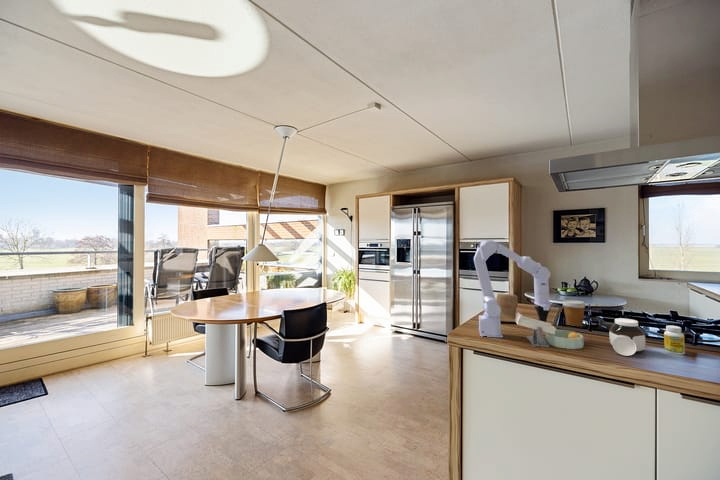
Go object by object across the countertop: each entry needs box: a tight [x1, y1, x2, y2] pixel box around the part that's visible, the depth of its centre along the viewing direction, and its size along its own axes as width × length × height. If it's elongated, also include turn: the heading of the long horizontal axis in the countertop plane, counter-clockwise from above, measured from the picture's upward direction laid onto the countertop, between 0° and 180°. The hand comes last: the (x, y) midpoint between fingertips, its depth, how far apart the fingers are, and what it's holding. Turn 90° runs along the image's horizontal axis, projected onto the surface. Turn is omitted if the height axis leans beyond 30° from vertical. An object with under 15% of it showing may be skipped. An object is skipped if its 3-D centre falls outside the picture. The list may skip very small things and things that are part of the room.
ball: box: [568, 331, 579, 338], centre depth 127 cm, size 4×4×4 cm
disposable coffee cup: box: [561, 299, 586, 327], centre depth 152 cm, size 10×10×12 cm
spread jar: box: [608, 317, 646, 357], centre depth 117 cm, size 12×11×12 cm
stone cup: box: [495, 293, 519, 323], centre depth 165 cm, size 15×12×15 cm
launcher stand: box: [526, 327, 551, 348], centre depth 131 cm, size 6×12×8 cm, turn 163°
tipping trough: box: [514, 311, 557, 334], centre depth 135 cm, size 14×15×4 cm
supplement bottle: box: [663, 324, 686, 356], centre depth 115 cm, size 5×5×10 cm
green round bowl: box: [545, 329, 585, 350], centre depth 128 cm, size 13×13×4 cm
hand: (542, 322), depth 138 cm, fingers closed, pressing on tipping trough
